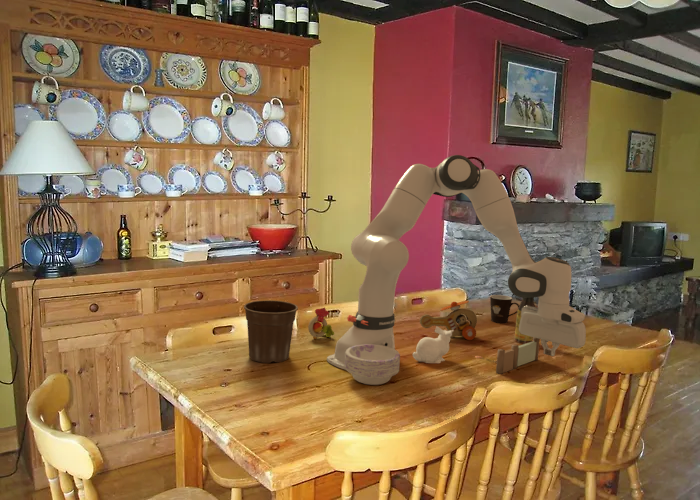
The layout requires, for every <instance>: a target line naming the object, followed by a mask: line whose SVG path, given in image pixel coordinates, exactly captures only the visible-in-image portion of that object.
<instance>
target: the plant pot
mask: <svg viewBox="0 0 700 500" xmlns="http://www.w3.org/2000/svg"><path fill="white" fill-rule="evenodd" d="M243 308H244V310H245V311H244V312H245V320H246V323H247V339H248V340H247V341H248V355H249V359H251V360H252V361H255V362H257V363H264V364H271V363H272V362H275V363H281V362H285V361H287V360H288V359H289V358H290V353H291V352H290V351H291V344H292V337H293V328H294V322H295V320H296V314H297V311H298V309H299V307H298V305H296V304H295V303H292V302H289V301H285V300H283V301H282V300H268V299H267V300H256V301H255V300H253V301H249V302H248V303H245V304H244V306H243Z"/></svg>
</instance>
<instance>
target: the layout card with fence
mask: <svg viewBox="0 0 700 500" xmlns="http://www.w3.org/2000/svg"><path fill="white" fill-rule="evenodd" d="M519 346H520V345H518V344H511V348H509V349H507V350H505V349H503V348H498V349H497V355H496V369H495V373H496V374H498V375H502V374H505V373H509V372H510V371H513V370H516V369H518V366H517V359H518V347H519ZM474 357H475V358H476V359H484V356H481V355H475V356H474ZM487 361H489V362H490V359H488V358H487ZM492 363H495V361H494V360H492Z"/></svg>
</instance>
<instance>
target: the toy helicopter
mask: <svg viewBox="0 0 700 500" xmlns="http://www.w3.org/2000/svg"><path fill="white" fill-rule="evenodd" d="M469 302H470V301H469V300H463V301H458V302H456V301H452V302H451V303H450V305H447V306H444V307H441V308H439V311H441V312H443V311H447V310H448V309H450V311H451V312H449V314H448V315H446V316H431V315H430V314H428V313H427V314H422V315H421V316H420V317H419V318H420V319H419V324H420V325H421V327H422V328H424V329H430V328H431V327H436V326H438V327H445V328H446V331H450V330H454V331H453V332H452V336H450V339H452V338H455V337H463V338H464V340H465V339H466V340H467V341H472V340H474V339H475V338H476V336H477V330H476V329H475V328H476V326H477V322H478V318H477V315H476V313H475V312H474V311H473V310H470V309H469V308H465V307H464V308H461V305H465V304H469Z"/></svg>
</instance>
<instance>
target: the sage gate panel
mask: <svg viewBox="0 0 700 500" xmlns="http://www.w3.org/2000/svg"><path fill="white" fill-rule="evenodd" d="M540 343H541V339H539V338H535V337H533V340H532V342H529V343H526V344H521V345H518V346H519V347H518V359H517V367H520V366H522V365H526V364H528V363H530V362H533V361H538V360H539V352H540V351H539V350H540Z"/></svg>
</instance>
